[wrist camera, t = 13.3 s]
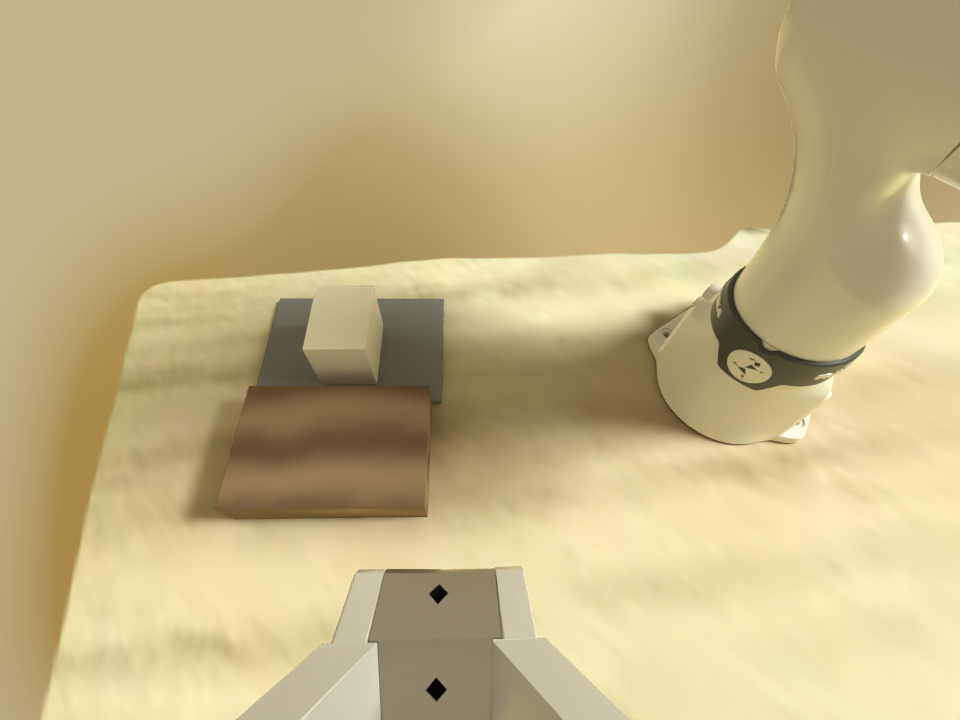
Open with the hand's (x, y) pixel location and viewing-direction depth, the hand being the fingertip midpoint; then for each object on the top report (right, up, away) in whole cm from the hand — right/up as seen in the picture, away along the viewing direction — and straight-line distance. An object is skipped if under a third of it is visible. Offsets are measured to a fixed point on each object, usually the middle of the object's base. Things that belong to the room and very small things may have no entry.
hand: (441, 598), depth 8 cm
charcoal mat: (-14, +6, +45) cm, 47 cm away
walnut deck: (-13, -5, +38) cm, 40 cm away
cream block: (-13, +4, +38) cm, 41 cm away
